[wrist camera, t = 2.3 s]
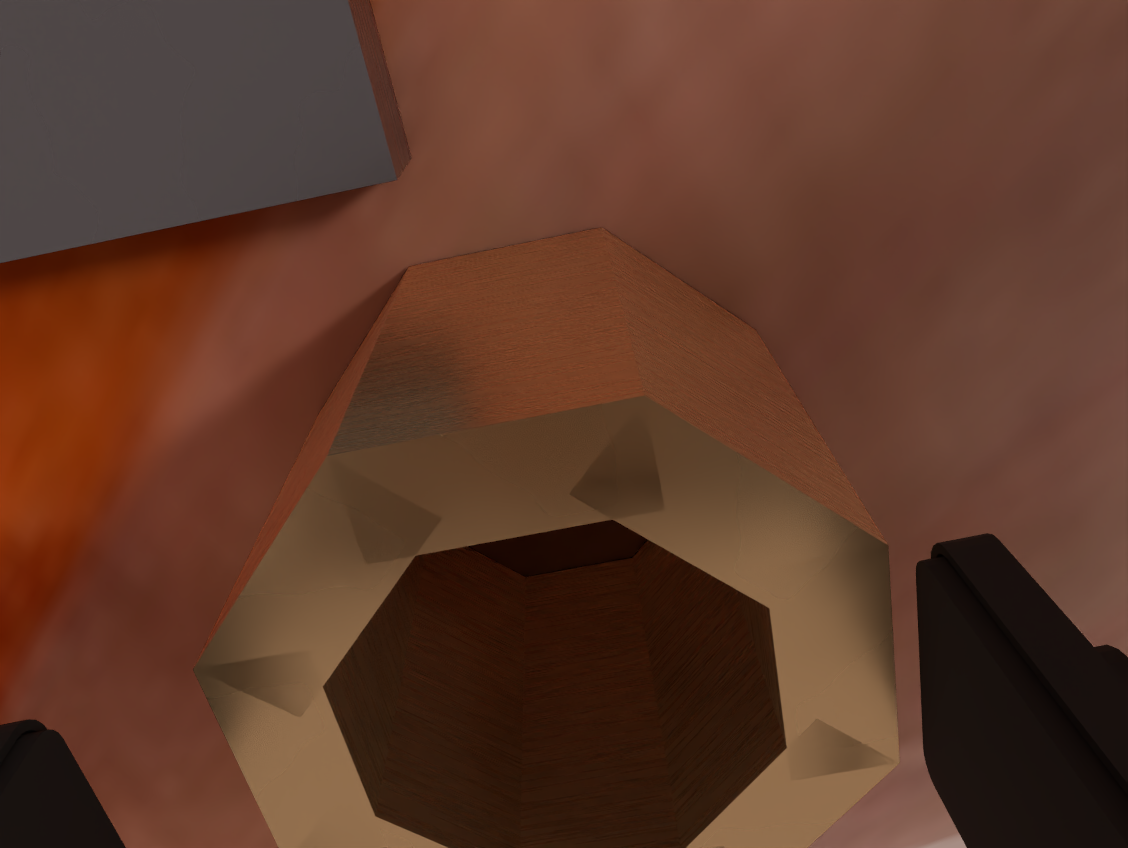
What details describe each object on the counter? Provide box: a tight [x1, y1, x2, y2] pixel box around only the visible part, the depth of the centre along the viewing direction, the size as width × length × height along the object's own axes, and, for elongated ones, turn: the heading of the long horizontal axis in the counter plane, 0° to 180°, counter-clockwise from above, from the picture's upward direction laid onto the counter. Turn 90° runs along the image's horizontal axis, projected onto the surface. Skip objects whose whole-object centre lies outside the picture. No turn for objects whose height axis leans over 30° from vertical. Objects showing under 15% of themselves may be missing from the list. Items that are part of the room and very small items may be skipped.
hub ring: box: [193, 227, 900, 848], centre depth 12 cm, size 7×7×6 cm
